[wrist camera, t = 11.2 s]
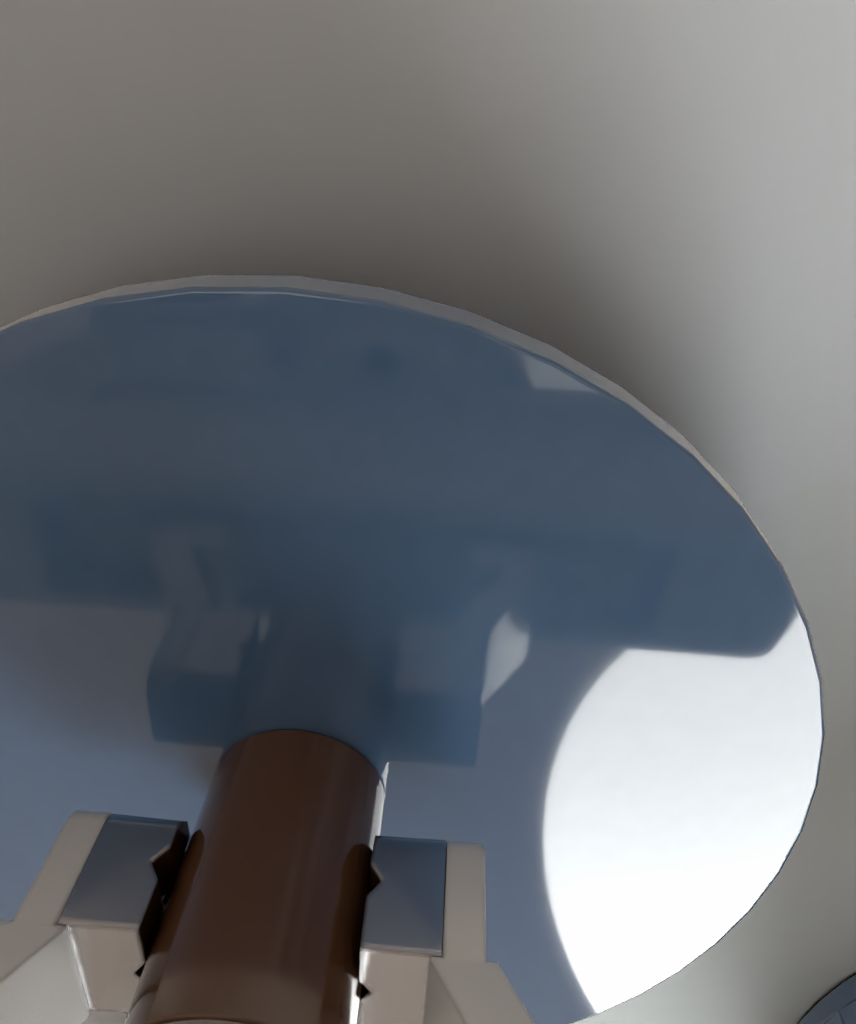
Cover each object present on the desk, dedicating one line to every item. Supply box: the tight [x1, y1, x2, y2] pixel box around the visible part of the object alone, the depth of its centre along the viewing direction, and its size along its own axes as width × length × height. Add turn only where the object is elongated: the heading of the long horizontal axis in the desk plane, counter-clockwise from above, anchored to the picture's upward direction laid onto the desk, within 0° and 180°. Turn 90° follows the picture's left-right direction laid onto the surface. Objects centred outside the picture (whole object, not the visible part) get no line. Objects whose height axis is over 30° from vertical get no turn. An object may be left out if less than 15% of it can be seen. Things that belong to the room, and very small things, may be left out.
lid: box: [0, 275, 824, 1024], centre depth 11 cm, size 15×15×5 cm
